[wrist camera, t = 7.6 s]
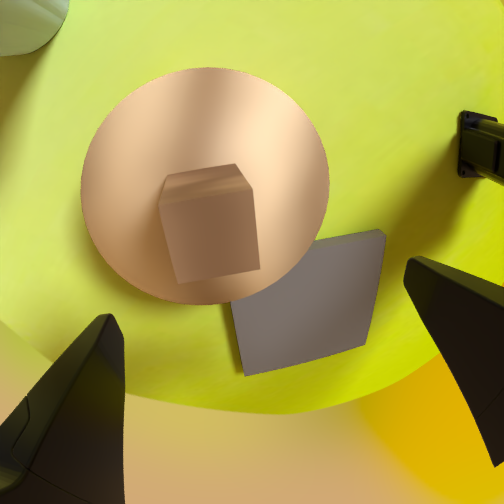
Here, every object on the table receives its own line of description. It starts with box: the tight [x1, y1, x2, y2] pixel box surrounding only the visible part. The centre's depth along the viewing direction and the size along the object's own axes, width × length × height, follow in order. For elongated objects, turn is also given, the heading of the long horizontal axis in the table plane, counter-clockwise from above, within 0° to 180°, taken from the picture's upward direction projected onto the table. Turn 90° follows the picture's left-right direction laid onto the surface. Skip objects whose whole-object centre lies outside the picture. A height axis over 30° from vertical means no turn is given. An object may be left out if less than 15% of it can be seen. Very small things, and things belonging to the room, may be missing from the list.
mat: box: [230, 229, 386, 376], centre depth 25 cm, size 13×13×1 cm
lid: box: [81, 67, 329, 305], centre depth 12 cm, size 12×12×5 cm
